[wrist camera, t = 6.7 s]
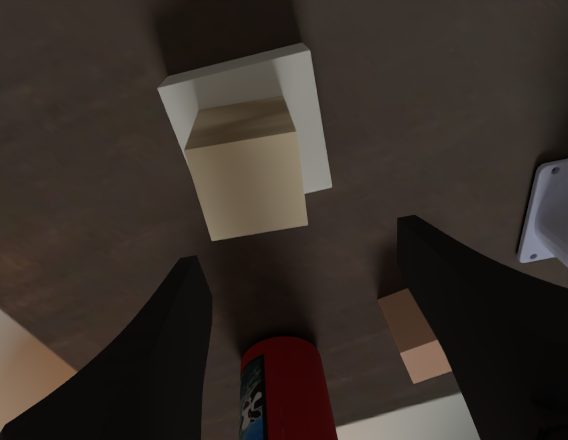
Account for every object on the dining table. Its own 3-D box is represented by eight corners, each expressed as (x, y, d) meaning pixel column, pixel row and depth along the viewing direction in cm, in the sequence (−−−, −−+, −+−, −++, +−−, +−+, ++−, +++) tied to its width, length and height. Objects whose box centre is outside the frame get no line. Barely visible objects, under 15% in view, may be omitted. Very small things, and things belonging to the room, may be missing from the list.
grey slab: (301, 41, 19) (309, 50, 16) (322, 164, 22) (332, 187, 20) (169, 74, 19) (157, 88, 16) (212, 190, 23) (208, 216, 20)
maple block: (283, 95, 17) (296, 131, 13) (293, 172, 19) (308, 224, 15) (198, 109, 17) (183, 150, 13) (218, 185, 19) (212, 241, 15)
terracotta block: (426, 280, 28) (458, 332, 24) (436, 312, 30) (468, 365, 26) (377, 299, 29) (399, 353, 24) (390, 329, 31) (413, 383, 27)
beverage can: (230, 338, 29) (222, 521, 19) (311, 320, 29) (346, 496, 19) (252, 386, 33) (255, 560, 23) (325, 370, 33) (360, 540, 23)
